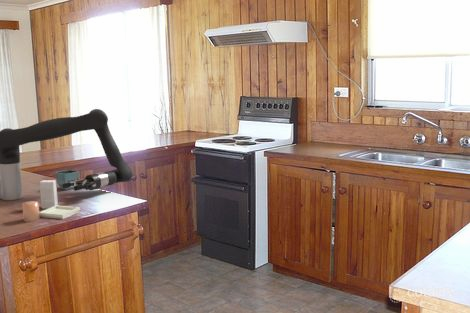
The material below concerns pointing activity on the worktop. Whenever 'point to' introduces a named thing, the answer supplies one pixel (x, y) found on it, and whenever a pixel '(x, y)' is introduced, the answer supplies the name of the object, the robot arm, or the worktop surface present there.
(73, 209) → the tray
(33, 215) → the orange-pink rounded cylinder
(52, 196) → the skincare box
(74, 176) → the flower pot
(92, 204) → the worktop surface
